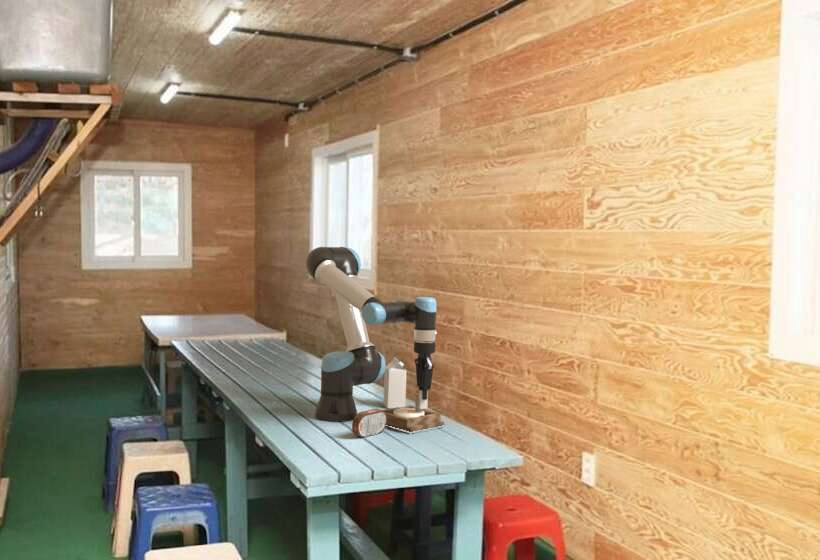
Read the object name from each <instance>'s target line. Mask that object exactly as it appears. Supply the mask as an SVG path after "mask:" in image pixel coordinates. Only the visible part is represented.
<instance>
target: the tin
mask: <svg viewBox="0 0 820 560" xmlns="http://www.w3.org/2000/svg"><path fill="white" fill-rule="evenodd" d="M382 410H383V409H379V408H372V409H368V410H362V411H360V412H357V415H356V416H355V418H354V419H353V420H352V424H351V430H352V433H353V434H354V436H356V437H359V438H363V437H364V436H368V435H372V434H376V433H379V432H381V433H382V432H383V431H384V430H385V429H386V428H387V427H386V423H387V415H386V413H385V412H384V411H382ZM376 435H377V434H376ZM372 436H373V435H372ZM368 437H369V436H368ZM364 438H365V437H364Z"/></svg>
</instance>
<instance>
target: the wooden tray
mask: <svg viewBox="0 0 820 560" xmlns="http://www.w3.org/2000/svg"><path fill="white" fill-rule="evenodd" d="M400 408H414V409H415V405H405V406H404V407H398V408H387V409H381V410H382V411H384V412H385V413H386V415H387V423H386V425H388V426H392V427H395V428H399V429H403V430H406V431H409V432H413V431H418V430H423V429H428V428H434V427H438V426H442V425H444V426H445V421H444V420H443V421H442V420H441V419H442V418H441V417H442V414H441V413H439V412H436V411H431V410H427V408H426V409H424V415H421V416H419V417H413V418H404V417H401V416H397V415H394V414H393V411H394V410H395V409H400Z"/></svg>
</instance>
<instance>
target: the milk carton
mask: <svg viewBox="0 0 820 560" xmlns="http://www.w3.org/2000/svg"><path fill="white" fill-rule="evenodd" d="M404 365H405V364H404V363H403V362H402V361H401V360H400V361H399V359H397V358H396V357H394V356H393V359H392V360H391V361H390V362H389V363H388V364H387V365H386V367H385V372H384V374H383V376H384V377H383V378H384V379H383V384H384V385H383V406H384V405H385V406H384V407H385V408H387V409H392V408H396V407H404V406H406V399H407V397H406V395H407V393H406V392H407V368H405V367H404Z"/></svg>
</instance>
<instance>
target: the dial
mask: <svg viewBox="0 0 820 560" xmlns="http://www.w3.org/2000/svg"><path fill="white" fill-rule="evenodd" d="M414 407H415V409H414V408H400V409H395V410H394V411H393V414H394V415H397V416H401V417H404V418H413V417H419V416H421V415H424V409H420V408H419V393H416V394H415V405H414Z"/></svg>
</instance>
